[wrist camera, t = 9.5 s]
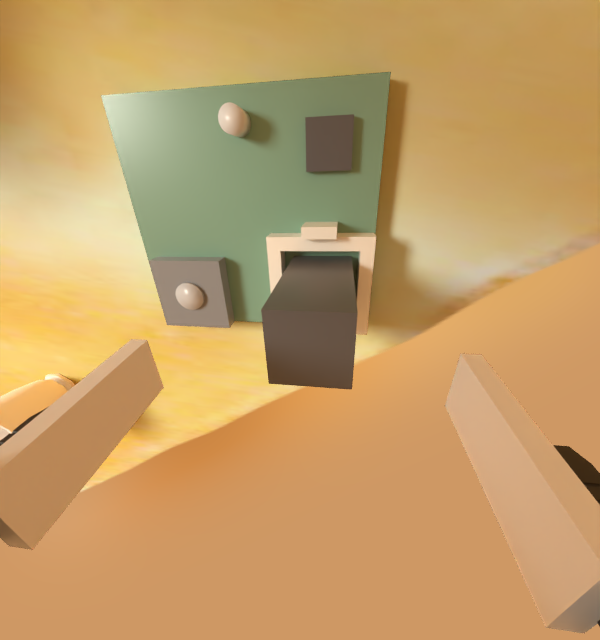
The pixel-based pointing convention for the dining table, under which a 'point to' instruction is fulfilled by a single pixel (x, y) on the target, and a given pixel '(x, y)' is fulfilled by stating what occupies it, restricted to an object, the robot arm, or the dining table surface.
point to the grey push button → (193, 291)
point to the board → (251, 169)
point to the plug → (312, 323)
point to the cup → (30, 401)
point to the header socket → (327, 239)
